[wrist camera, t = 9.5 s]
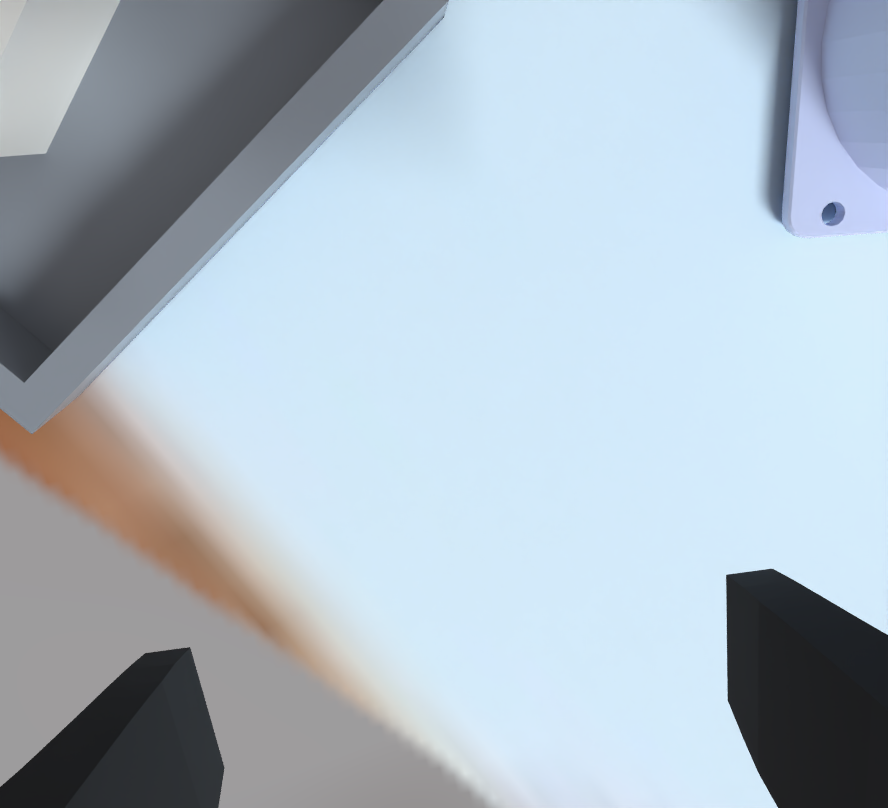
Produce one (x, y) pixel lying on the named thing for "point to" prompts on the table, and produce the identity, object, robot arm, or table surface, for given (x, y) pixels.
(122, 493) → the table surface
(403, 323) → the table surface
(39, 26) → the collar
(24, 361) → the tray
